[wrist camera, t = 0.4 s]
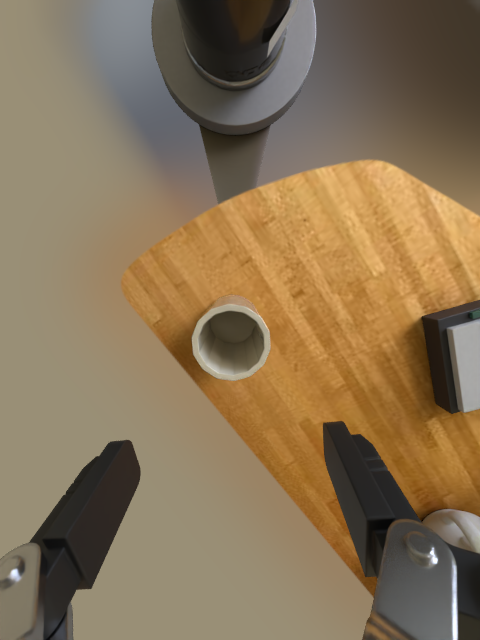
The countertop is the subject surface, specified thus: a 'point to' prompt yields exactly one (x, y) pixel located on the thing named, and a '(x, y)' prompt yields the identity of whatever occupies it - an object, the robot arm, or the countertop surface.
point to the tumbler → (231, 339)
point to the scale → (455, 356)
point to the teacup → (456, 528)
